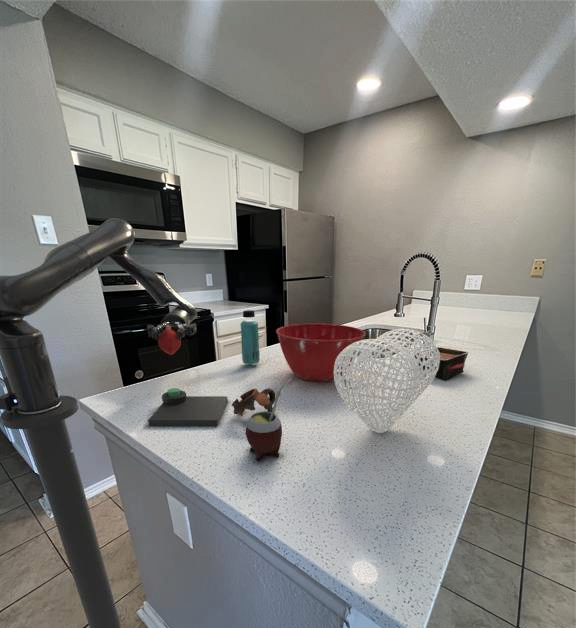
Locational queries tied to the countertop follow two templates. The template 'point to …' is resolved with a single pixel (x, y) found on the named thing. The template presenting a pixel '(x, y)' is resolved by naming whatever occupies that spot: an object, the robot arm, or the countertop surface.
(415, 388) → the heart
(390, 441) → the countertop surface
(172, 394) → the button
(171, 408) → the scale
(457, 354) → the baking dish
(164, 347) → the onion
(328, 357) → the mixing bowl
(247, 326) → the beverage bottle
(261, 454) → the mate gourd
